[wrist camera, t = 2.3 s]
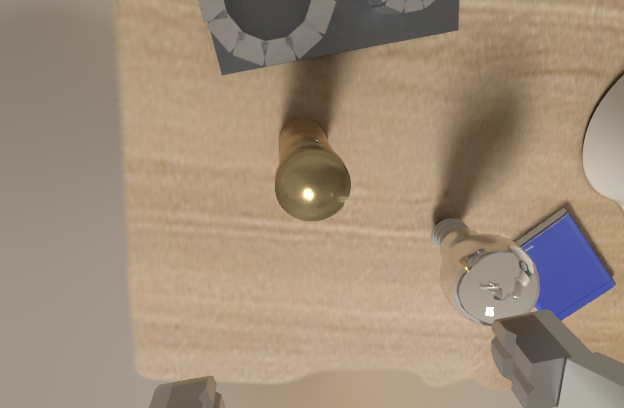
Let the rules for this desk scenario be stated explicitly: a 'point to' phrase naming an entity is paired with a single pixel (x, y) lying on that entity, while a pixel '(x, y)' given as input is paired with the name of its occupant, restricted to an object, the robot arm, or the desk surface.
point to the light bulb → (484, 273)
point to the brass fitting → (309, 173)
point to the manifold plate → (339, 28)
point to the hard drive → (565, 265)
